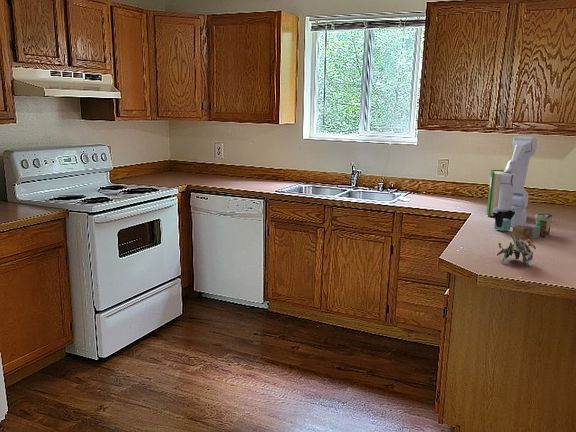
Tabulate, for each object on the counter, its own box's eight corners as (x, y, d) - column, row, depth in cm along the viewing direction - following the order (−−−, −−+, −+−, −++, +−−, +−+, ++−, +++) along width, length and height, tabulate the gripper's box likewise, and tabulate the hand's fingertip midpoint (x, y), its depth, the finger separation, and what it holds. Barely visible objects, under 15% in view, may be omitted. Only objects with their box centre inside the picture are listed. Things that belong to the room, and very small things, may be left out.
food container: (535, 231, 243) (538, 211, 241) (549, 234, 240) (552, 212, 238) (529, 236, 234) (532, 214, 232) (544, 238, 230) (547, 216, 228)
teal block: (500, 227, 247) (501, 217, 246) (510, 230, 243) (511, 219, 242) (494, 228, 245) (495, 218, 244) (503, 231, 241) (504, 220, 240)
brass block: (518, 236, 234) (519, 225, 233) (528, 238, 230) (529, 227, 229) (511, 237, 231) (512, 226, 230) (521, 239, 227) (523, 228, 226)
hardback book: (502, 218, 275) (507, 173, 270) (487, 216, 277) (492, 172, 272) (500, 212, 291) (505, 170, 286) (486, 211, 293) (491, 169, 289)
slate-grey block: (529, 235, 237) (531, 224, 236) (539, 237, 232) (540, 226, 231) (522, 236, 234) (523, 225, 233) (532, 238, 230) (533, 227, 229)
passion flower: (525, 281, 188) (537, 259, 178) (490, 271, 191) (501, 249, 181) (528, 256, 196) (540, 233, 186) (495, 247, 199) (505, 224, 189)
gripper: (503, 200, 234) (500, 229, 237) (522, 198, 241) (519, 226, 244) (489, 198, 240) (487, 226, 242) (509, 196, 247) (506, 223, 250)
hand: (502, 226), depth 244 cm, fingers closed on teal block, 5 cm apart
